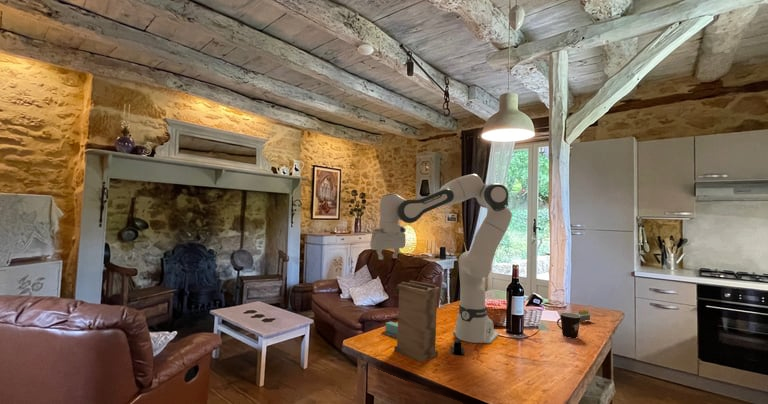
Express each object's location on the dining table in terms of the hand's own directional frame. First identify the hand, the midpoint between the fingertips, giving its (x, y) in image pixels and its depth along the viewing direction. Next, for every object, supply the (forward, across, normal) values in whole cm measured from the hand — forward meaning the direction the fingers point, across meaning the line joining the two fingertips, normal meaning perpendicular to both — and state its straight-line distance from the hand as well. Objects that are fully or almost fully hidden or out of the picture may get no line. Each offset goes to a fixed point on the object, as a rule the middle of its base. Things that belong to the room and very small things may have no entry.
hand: (388, 258), depth 160 cm
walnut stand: (+35, -6, -22) cm, 42 cm away
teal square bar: (+34, +5, -8) cm, 35 cm away
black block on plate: (+36, +9, -32) cm, 49 cm away
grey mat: (+35, +5, -8) cm, 36 cm away
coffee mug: (+36, +67, -56) cm, 95 cm away
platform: (+37, +101, -55) cm, 121 cm away
